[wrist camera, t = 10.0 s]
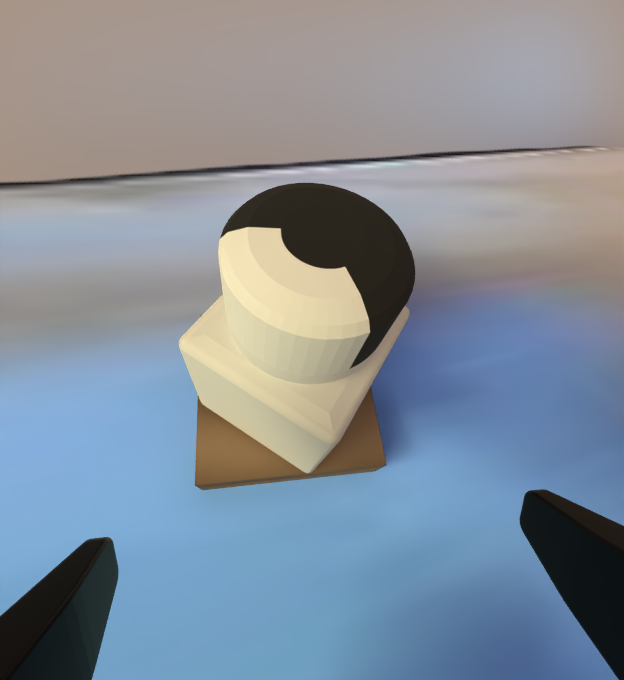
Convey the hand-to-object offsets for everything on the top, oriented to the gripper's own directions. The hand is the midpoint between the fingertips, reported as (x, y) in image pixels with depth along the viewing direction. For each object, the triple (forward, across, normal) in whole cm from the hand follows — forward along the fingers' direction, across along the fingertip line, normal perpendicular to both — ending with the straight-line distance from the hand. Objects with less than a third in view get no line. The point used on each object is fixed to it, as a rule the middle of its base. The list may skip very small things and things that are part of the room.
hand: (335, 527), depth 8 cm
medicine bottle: (+13, 0, +3) cm, 13 cm away
